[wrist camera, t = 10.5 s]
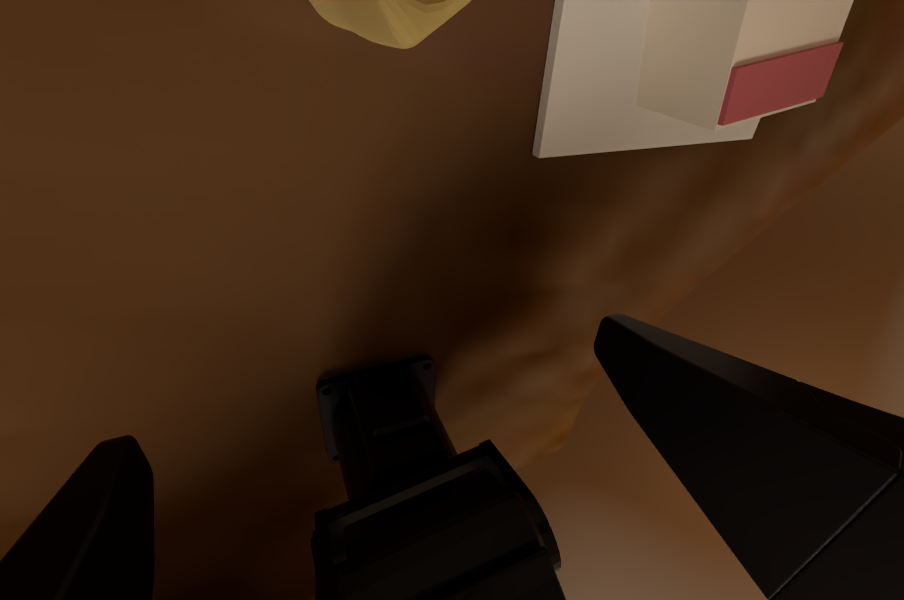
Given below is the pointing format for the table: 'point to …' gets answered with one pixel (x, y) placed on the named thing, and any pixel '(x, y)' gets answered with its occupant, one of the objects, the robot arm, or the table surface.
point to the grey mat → (606, 86)
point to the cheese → (389, 18)
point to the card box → (737, 57)
